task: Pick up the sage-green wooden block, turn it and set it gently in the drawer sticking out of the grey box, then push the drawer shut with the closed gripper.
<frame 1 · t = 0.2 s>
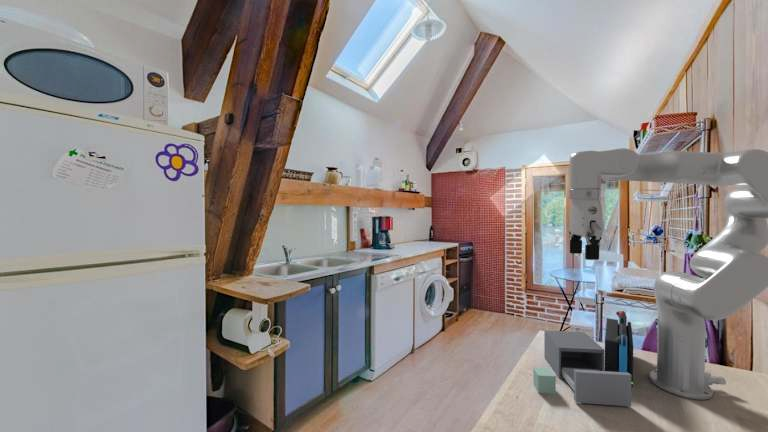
hand: (583, 256, 87), 36 cm above the table, tool pointing down, fingers open, 9 cm apart
grey box: (572, 368, 95), on the table
game console: (618, 368, 95), on the table
block: (544, 389, 85), on the table
drawer: (590, 374, 84), point 5 cm above the table, slide at 10.0 cm
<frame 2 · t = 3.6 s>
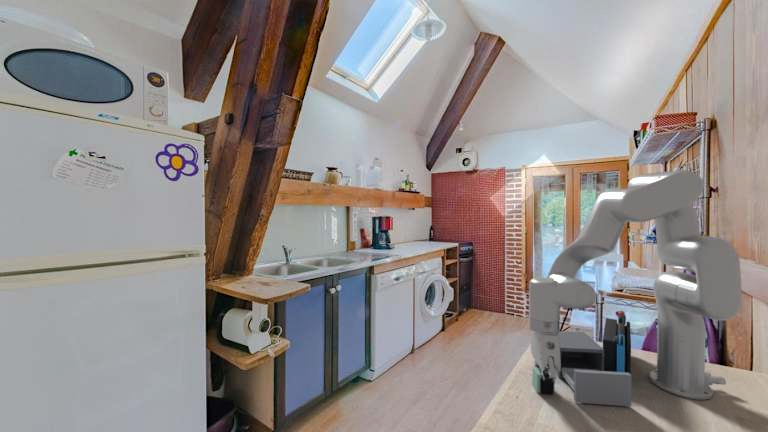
hand: (543, 387, 85), 0 cm above the table, tool pointing down, fingers closed on block, 3 cm apart
block: (543, 388, 85), on the table, touching gripper
everything else where it was.
when the fingers open (4 cm above the table, at t = 9.1 s): block drops 1 cm, resting on drawer.
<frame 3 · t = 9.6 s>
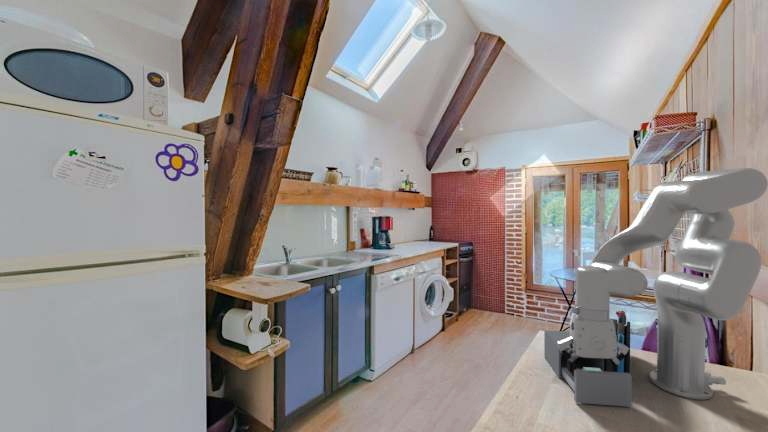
hand: (591, 375, 83), 5 cm above the table, tool pointing down, fingers open, 9 cm apart
block: (595, 390, 81), point 2 cm above the table, touching drawer
drawer: (590, 375, 84), point 5 cm above the table, slide at 10.1 cm, touching block
everything else where it was.
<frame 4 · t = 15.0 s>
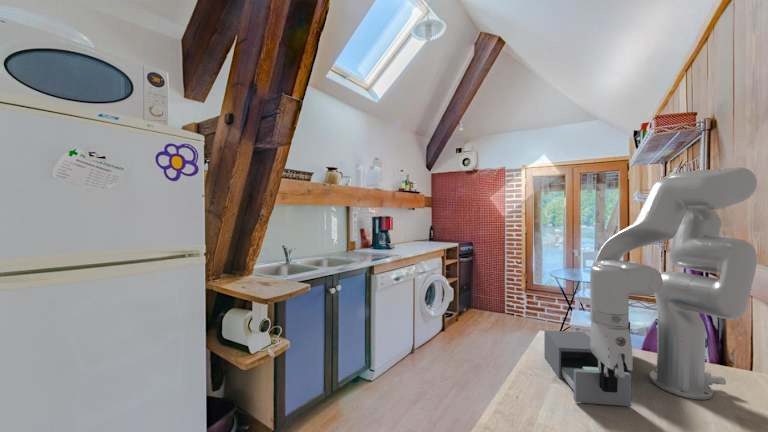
hand: (608, 390, 75), 6 cm above the table, tool pointing down, fingers closed
drawer: (590, 374, 84), point 5 cm above the table, slide at 9.8 cm, touching block, gripper
everything else where it was.
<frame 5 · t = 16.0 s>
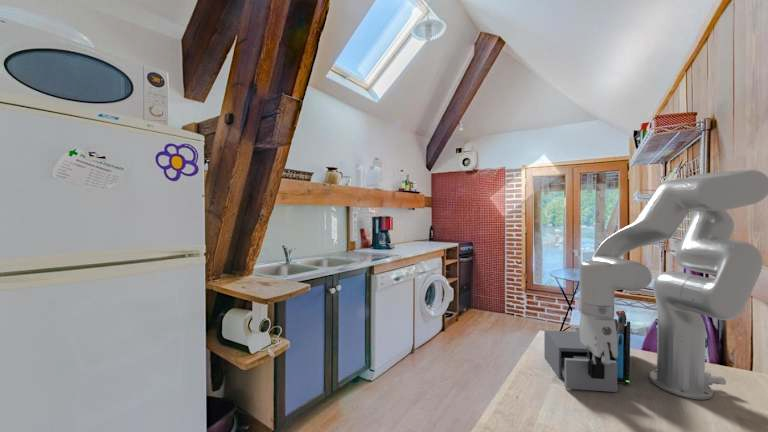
hand: (596, 376, 81), 6 cm above the table, tool pointing down, fingers closed
block: (584, 377, 87), point 2 cm above the table, touching drawer
drawer: (580, 363, 90), point 5 cm above the table, slide at 4.1 cm, touching block, gripper
everything else where it was.
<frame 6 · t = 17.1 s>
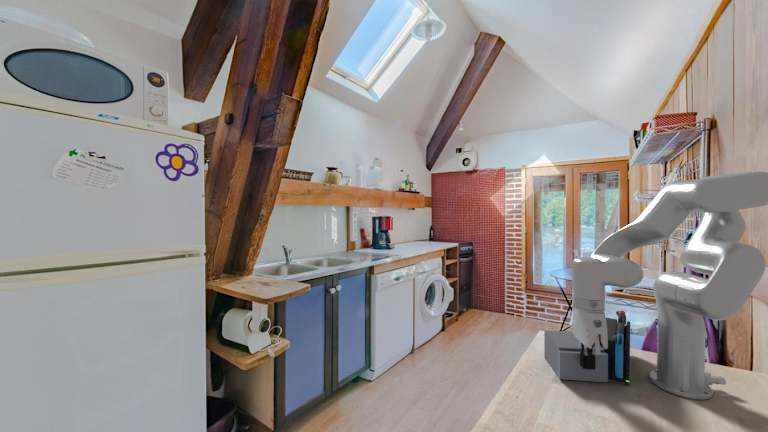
hand: (587, 367, 86), 6 cm above the table, tool pointing down, fingers closed
block: (576, 369, 91), point 2 cm above the table, touching drawer
drawer: (573, 355, 94), point 5 cm above the table, slide at -0.4 cm, touching block, gripper
everything else where it was.
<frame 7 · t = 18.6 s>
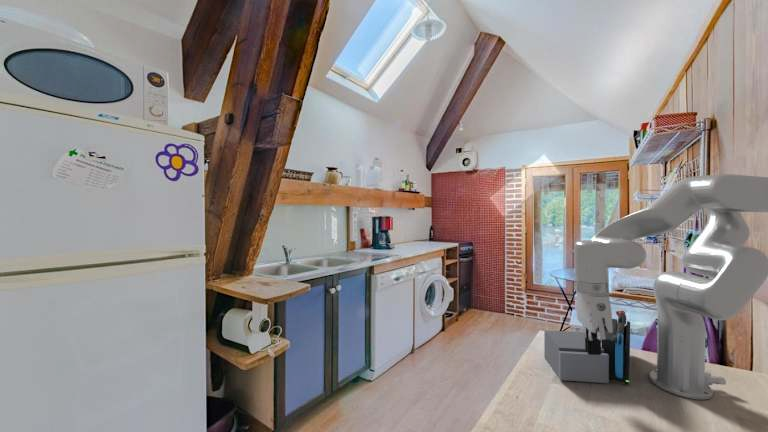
hand: (593, 353, 84), 11 cm above the table, tool pointing down, fingers closed
drawer: (574, 356, 94), point 5 cm above the table, slide at 0.0 cm, touching block
everything else where it was.
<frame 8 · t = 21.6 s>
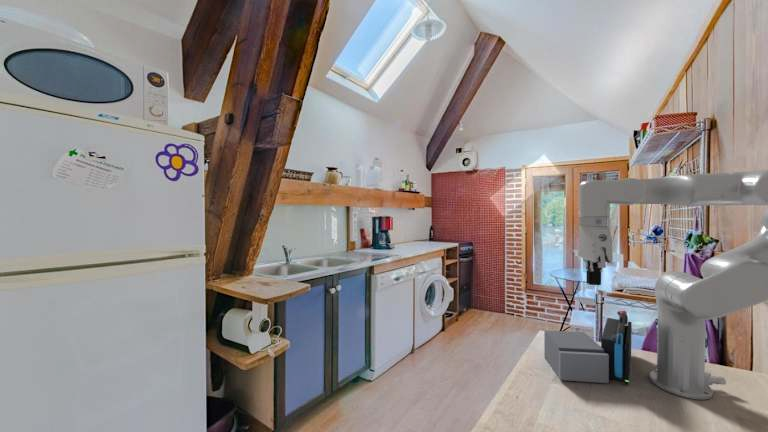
hand: (593, 284, 91), 27 cm above the table, tool pointing down, fingers closed
nothing on the table moved.
at the end: drawer slide at 0.0 cm; block inside the target area on the grey box (4.3 cm from its centre), point 2.0 cm above the grey box's base; block tilted 0° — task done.
